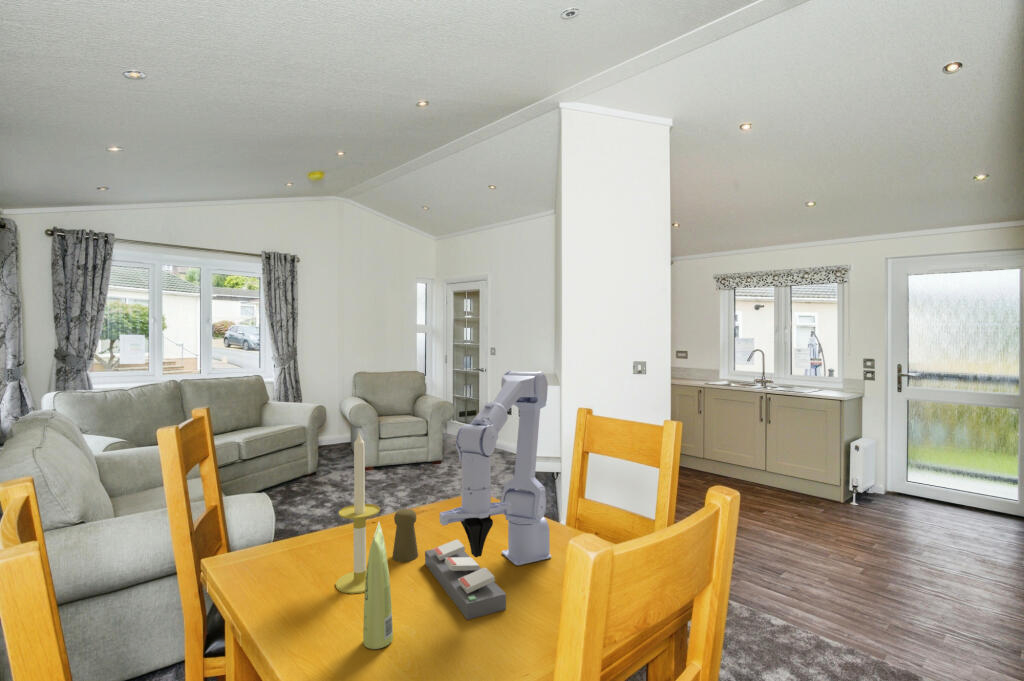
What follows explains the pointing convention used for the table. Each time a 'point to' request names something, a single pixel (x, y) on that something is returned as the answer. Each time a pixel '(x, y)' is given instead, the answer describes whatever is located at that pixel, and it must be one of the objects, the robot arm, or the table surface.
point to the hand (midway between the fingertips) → (476, 554)
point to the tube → (377, 596)
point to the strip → (471, 603)
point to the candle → (357, 524)
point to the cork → (405, 536)
